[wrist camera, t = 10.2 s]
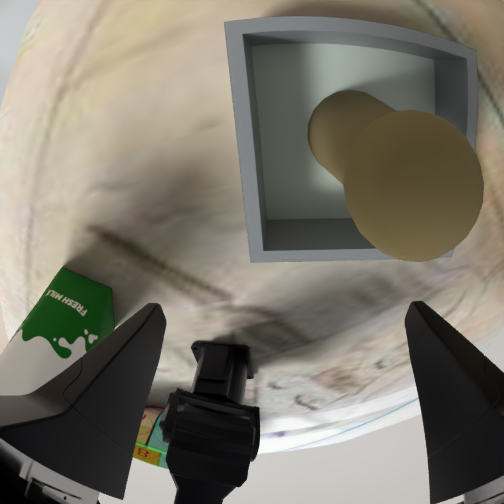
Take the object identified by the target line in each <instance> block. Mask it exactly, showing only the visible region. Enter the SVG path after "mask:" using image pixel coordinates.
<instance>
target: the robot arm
mask: <svg viewBox="0 0 504 504" xmlns="http://www.w3.org/2000/svg"><path fill="white" fill-rule="evenodd" d="M405 328H406V334H407V340H408V347H409V354H410V360H411V365H412V369H413V373H414V378H415V382H416V387H417V392H418V397H419V402H420V407H421V413H422V419H423V425H424V432H425V440H426V448H427V457H428V470H429V486H430V504H436V503H440V502H443V501H446V500H448V499H451V498H454V497H457V496H460V495H462V494H463V495H464V501H462V502H460V503H457V504H504V373H503V372H502V371H501V370H500V369H499V368H498V367H497V366H496V365H495V364H493V363H492V362H491V361H490V360H489V359H488V358H487V357H486V356H484V354H483V353H482V352H481V351H479V350H478V349H477V348H476V347H475V346H474V345H473V344H472V343H471V342H470V341H468V340H467V339H466V338H465V337H464V336H463V335H462V334H461V333H459V332H458V331H457V330H456V329H455V328H454V327H453V326H451V325H450V324H449V323H448V322H447V321H446V320H444V319H443V318H442V317H441V316H440V315H439V314H437V313H436V312H435V311H434V310H433V309H431V308H430V307H429V306H428V305H426V304H425V303H424V302H423V301H413V302H411V304H410V306H409V309H408V312H407V314H406V317H405ZM165 329H166V318H165V315H164V313H163V310H162V308H161V305H160V304H158V303H148V304H147V305H146V306H144V307H143V308H142V309H140V310H139V311H138V312H137V313H135V314H134V315H133V316H132V317H130V318H129V319H128V320H126V321H125V322H124V323H123V324H121V325H120V326H119V327H118V328H116V329H115V330H114V331H113V332H111V333H110V334H109V335H108V336H106V337H105V338H104V339H103V340H101V341H100V342H99V343H98V344H96V345H95V346H94V347H93V348H91V349H90V350H89V351H88V352H86V353H85V354H84V355H83V357H80V358H79V359H78V360H77V361H75V362H74V363H73V364H72V365H70V366H69V367H68V368H66V369H65V370H64V371H62V372H61V373H60V374H58V375H57V376H55V377H54V378H52V379H51V380H50V381H48V382H47V383H45V384H44V385H42V386H41V387H39V388H38V389H36V390H35V391H33V392H31V393H29V394H25V395H0V504H100V502H99V501H98V496H99V492H101V493H104V494H106V495H109V496H112V497H115V498H118V499H121V500H123V498H124V493H125V489H126V484H127V479H128V475H129V471H130V466H131V461H132V458H133V453H134V449H135V445H136V441H137V437H138V433H139V429H140V425H141V422H142V418H143V414H144V411H145V407H146V404H147V400H148V396H149V393H150V390H151V386H152V383H153V379H154V376H155V373H156V369H157V366H158V363H159V359H160V354H161V349H162V344H163V339H164V334H165ZM191 349H192V352H193V354H194V356H195V359H196V361H197V363H198V366H197V369H196V373H195V377H194V381H193V384H192V388H191V392H188V391H184V390H182V389H180V388H177V391H176V392H174V393H170V396H169V399H168V402H167V405H166V408H165V410H164V413H163V415H162V417H161V420H160V422H159V428H160V429H161V431H162V436H163V440H162V442H163V443H166V444H169V445H168V450H167V454H166V459H165V460H166V463H167V466H168V469H169V470H170V474H171V476H172V478H173V481H174V483H175V486H176V488H177V491H176V496H175V500H174V504H222V502H223V499H224V498H225V497H226V496H227V495H228V494H229V493H230V492H231V491H233V490H234V489H235V488H236V487H241V486H242V484H243V483H244V482H245V481H246V480H247V475H248V469H249V464H250V462H252V461H254V459H255V457H256V455H257V452H258V449H259V444H260V413H259V407H256V406H254V407H252V406H247V405H243V402H244V394H245V387H246V380H247V379H253V378H254V372H253V366H252V360H251V354H250V349H249V347H247V346H236V345H215V344H199V343H193V344H192V346H191ZM181 410H183V411H181Z"/></svg>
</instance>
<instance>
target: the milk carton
mask: <svg viewBox="0 0 504 504" xmlns="http://www.w3.org/2000/svg"><path fill="white" fill-rule="evenodd" d="M114 328H115V325H114V316H113V304H112V289H111V288H109V287H106V286H104V285H102V284H99V283H97V282H94V281H92V280H90V279H87V278H85V277H83V276H80V275H78V274H76V273H74V272H71V271H69V270H67V269H65V268H63V267H62V268H61V269H60V271H59V272H58V273H57V275H56V276H55V277H54V279H53V280H52V282H51V283H50V285H49V286H48V287H47V289H46V290H45V292H44V293H43V295H42V296H41V298H40V299H39V301H38V302H37V304H36V305H35V306H34V308H33V309H32V310H31V312H30V313H29V314H28V316H27V317H26V319H25V320H24V321H23V323H22V324H21V326H20V327H19V328H18V330H17V331H16V333H15V334H14V336H13V337H12V339H11V340H10V342H9V343H8V345H7V346H6V348H5V349H4V351H3V353H2V354H1V356H0V395H25V394H29V393H31V392H33V391H35V390H36V389H38V388H39V387H41V386H42V385H44V384H45V383H47V382H48V381H50V380H51V379H52V378H54V377H55V376H57V375H58V374H60V373H61V372H62V371H64V370H65V369H66V368H68V367H69V366H70V365H72V364H73V363H74V362H75V361H77V360H78V359H79V358H80V357H83V355H84V354H85V353H86V352H88V351H89V350H90V349H91V348H93V347H94V346H95V345H96V344H98V343H99V342H100V341H101V340H103V339H104V338H105V337H106V336H108V335H109V334H110V333H111V332H113V331H114Z"/></svg>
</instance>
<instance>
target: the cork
mask: <svg viewBox="0 0 504 504" xmlns="http://www.w3.org/2000/svg"><path fill="white" fill-rule="evenodd" d="M307 138H308V142H309V145H310V149H311V152H312V153H313V155H314V157H315V158H316V160H317V162H318V163H319V164H320V165H321V166H322V167H324V168H325V169H326V170H327V171H328V172H329V173H330V174H332V175H333V176H334V177H335V178H336V179H337V180H338V181H339V182H341V183H342V184H343V187H344V193H345V199H346V205H347V208H348V210H349V213H350V215H351V217H352V219H353V220H354V222H355V224H356V226H357V228H358V230H359V232H360V233H361V234H362V235H363V236H364V237H365V238H366V239H367V240H368V241H369V242H370V243H371V244H372V245H374V246H375V247H376V248H377V249H378V250H379V251H380V252H382V253H384V254H386V255H389V256H391V257H393V258H396V259H399V260H404V261H417V262H423V261H427V260H431V259H435V258H439V257H440V256H442V255H444V254H446V253H448V252H449V251H451V250H453V249H454V248H455V247H456V246H457V245H458V244H459V243H460V242H462V241H463V240H464V239H465V238H466V237H467V235H468V234H469V232H470V231H471V229H472V227H473V226H474V224H475V222H476V221H477V218H478V215H479V212H480V209H481V206H482V203H483V191H484V181H483V176H482V171H481V167H480V163H479V160H478V157H477V154H476V153H475V151H474V149H473V148H472V146H471V144H470V142H469V141H468V139H467V138H466V137H465V136H464V135H463V134H462V133H461V132H460V131H459V130H458V129H456V128H455V127H454V126H453V125H452V124H450V123H449V122H448V121H446V120H445V119H444V118H442V117H439V116H436V115H433V114H429V113H426V112H423V111H419V110H404V111H396V110H394V109H393V108H391V107H390V106H388V105H387V104H385V103H383V102H382V101H380V100H378V99H377V98H375V97H373V96H371V95H369V94H367V93H365V92H361V91H355V90H346V91H339V92H335V93H333V94H332V95H330V96H328V97H326V98H324V99H323V100H322V101H321V102H320V103H319V104H318V105H317V107H316V108H315V109H314V110H313V113H312V115H311V117H310V120H309V122H308V135H307Z"/></svg>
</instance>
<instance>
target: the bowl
mask: <svg viewBox="0 0 504 504" xmlns="http://www.w3.org/2000/svg"><path fill="white" fill-rule="evenodd" d="M163 413H164V410H163V409H159V408H149V409H145V411H144V414H143V418H142V422H141V425H140V429H139V433H138V437H137V441H136V445H135V449H134V453H133V457H134V458H136V459H138V460H141V461H144V462H146V463H149V464H153V465H156V466H159V467H162V468H166V469H168V466H167V463H166V460H165V459H166V454H167V450H168V445H169V444H166V443H163V442H162V440H163V436H162V431H161V429H160V428H159V422H160V420H161V417H162V415H163Z"/></svg>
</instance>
